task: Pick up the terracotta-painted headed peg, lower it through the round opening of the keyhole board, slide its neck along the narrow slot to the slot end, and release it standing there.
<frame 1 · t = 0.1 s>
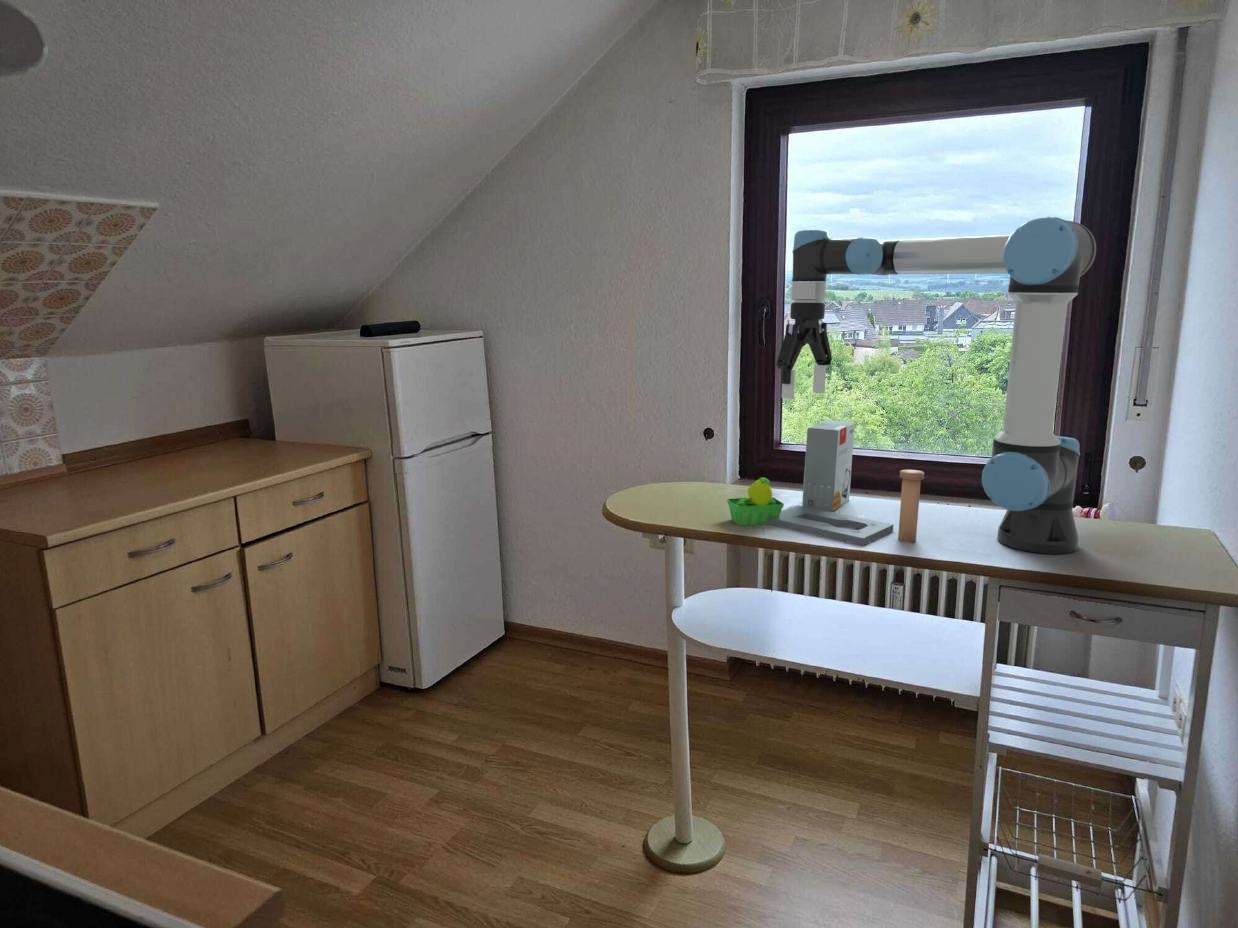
hand: (803, 395, 193), 28 cm above the table, fingers open, 13 cm apart
peg: (906, 539, 178), on the table
hard drive box: (826, 505, 207), on the table
fruit basket: (755, 524, 192), on the table, touching keyhole board
keyhole board: (827, 527, 187), on the table
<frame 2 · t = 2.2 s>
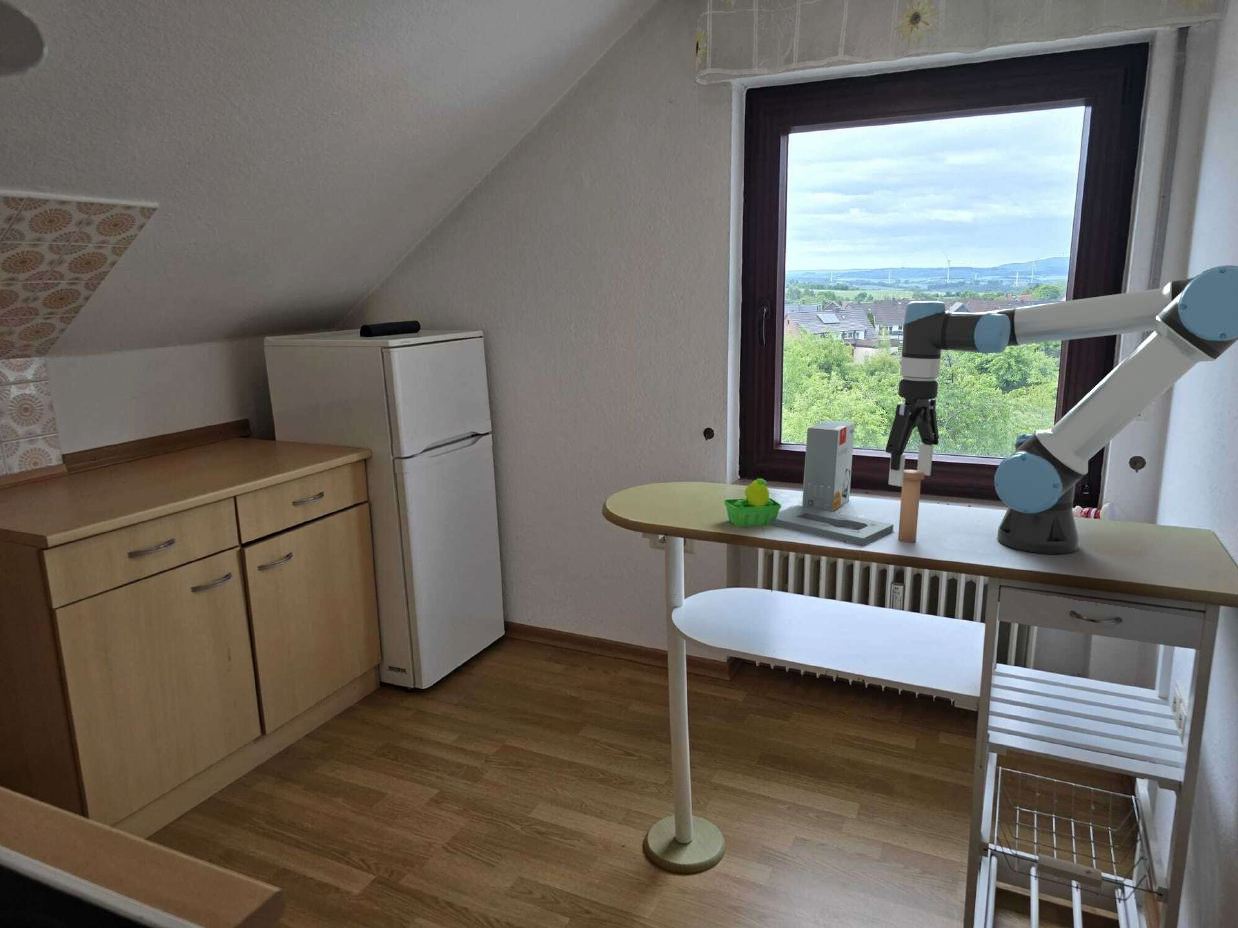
hand: (909, 479, 175), 13 cm above the table, fingers open, 13 cm apart
fruit basket: (752, 525, 191), on the table, touching keyhole board
everything else where it was.
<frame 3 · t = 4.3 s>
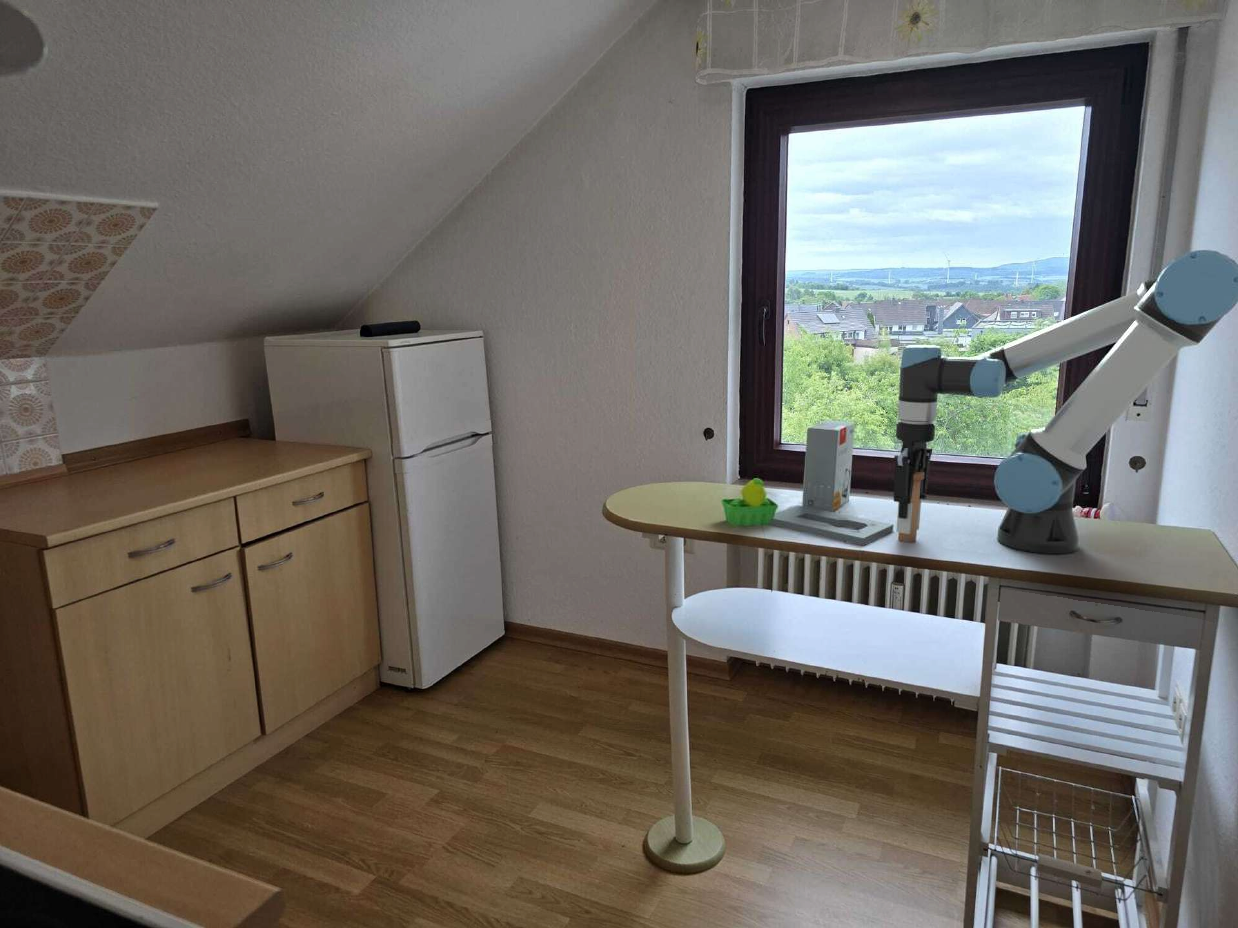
hand: (907, 530, 178), 2 cm above the table, fingers closed on peg, 4 cm apart
peg: (907, 539, 178), on the table, touching gripper
everything else where it was.
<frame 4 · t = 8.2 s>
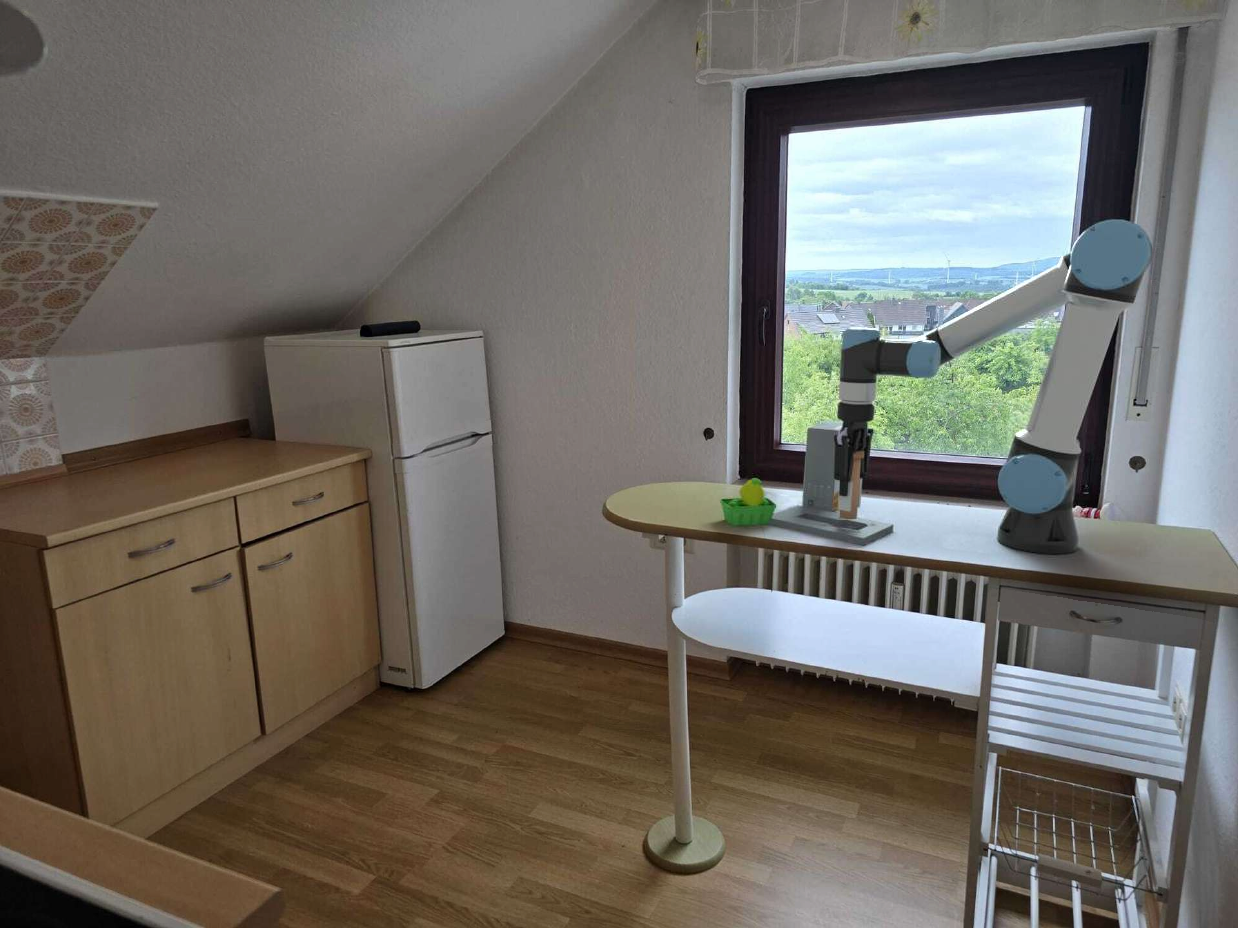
hand: (849, 507, 183), 5 cm above the table, fingers closed on peg, 4 cm apart
peg: (848, 516, 183), point 3 cm above the table, touching gripper
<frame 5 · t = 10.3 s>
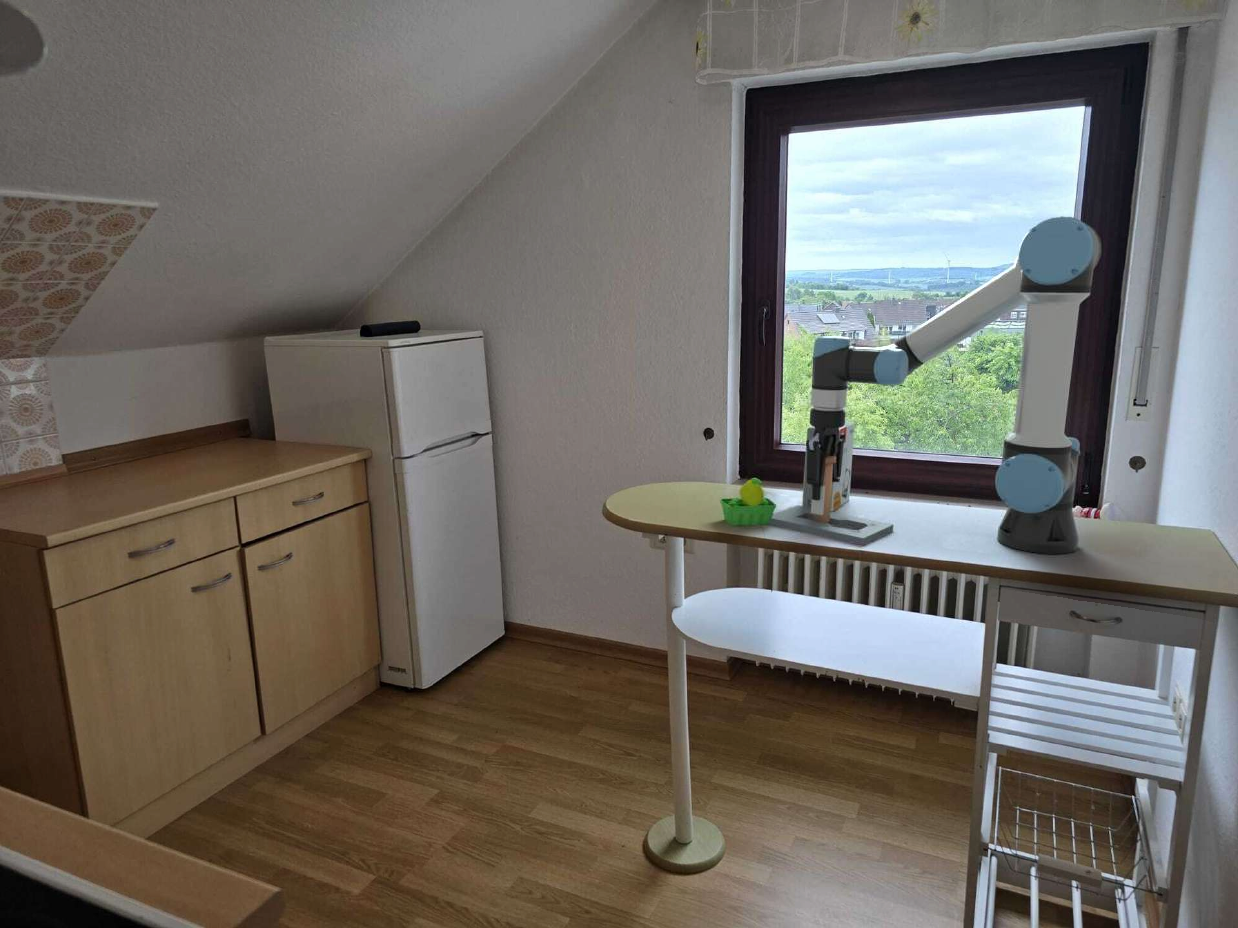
hand: (822, 511, 188), 3 cm above the table, fingers closed on peg, 4 cm apart
peg: (821, 520, 188), point 1 cm above the table, touching gripper
when the fingers open (3 cm above the table, at t = 12.0 s): peg drops 1 cm, resting in keyhole board.
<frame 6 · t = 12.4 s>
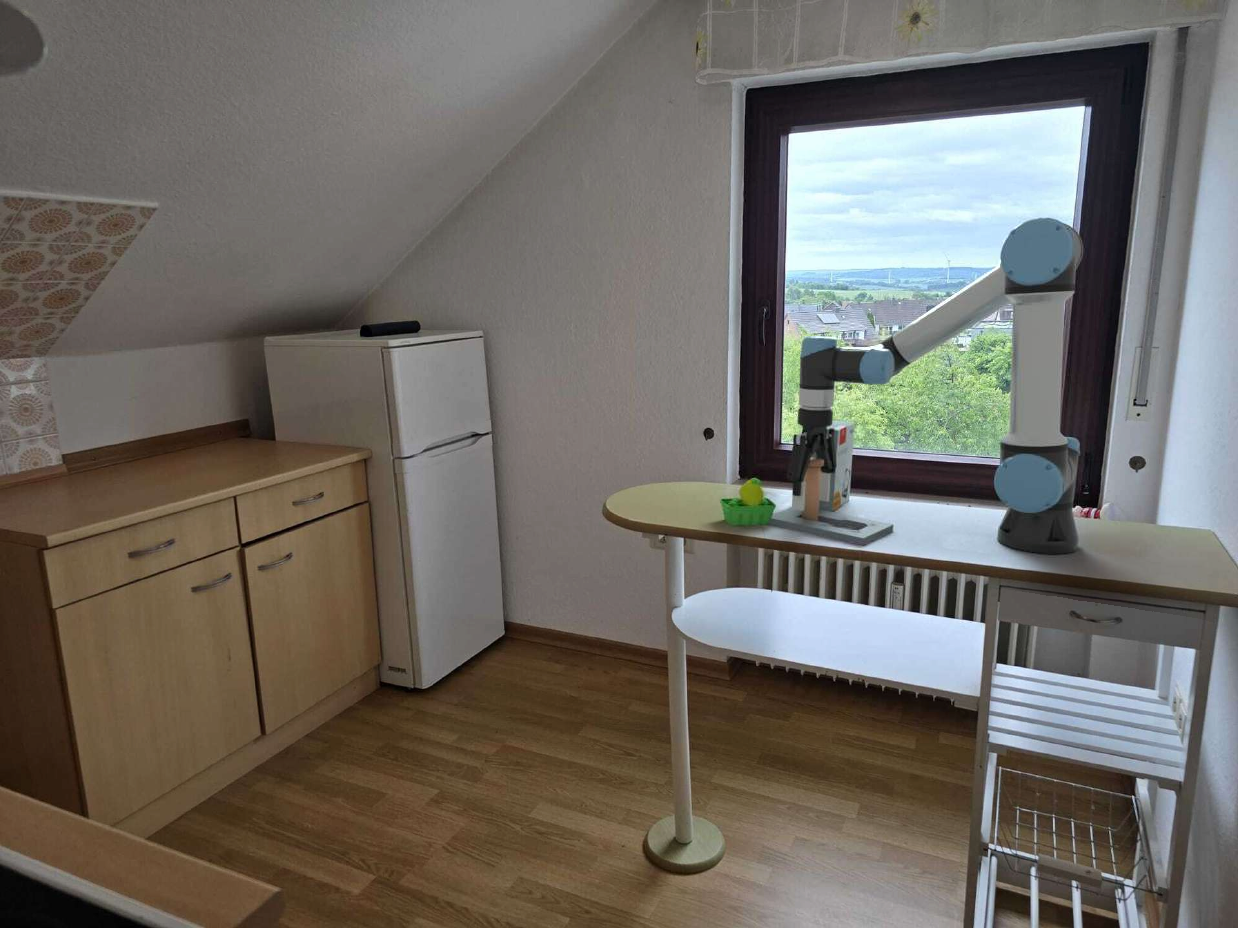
hand: (810, 504, 189), 4 cm above the table, fingers open, 10 cm apart
peg: (809, 523, 190), resting in keyhole board
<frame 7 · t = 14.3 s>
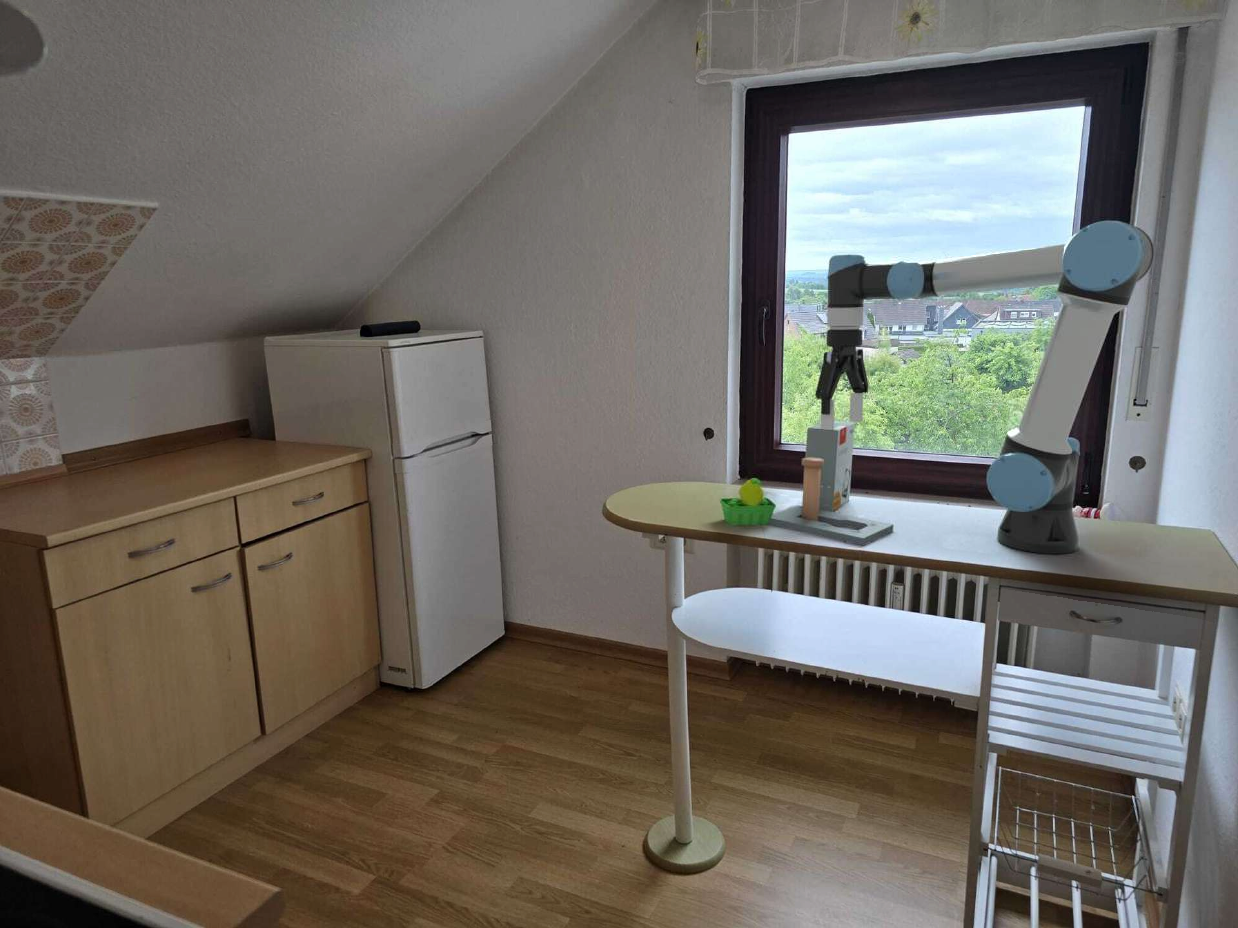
hand: (841, 425, 185), 22 cm above the table, fingers open, 13 cm apart
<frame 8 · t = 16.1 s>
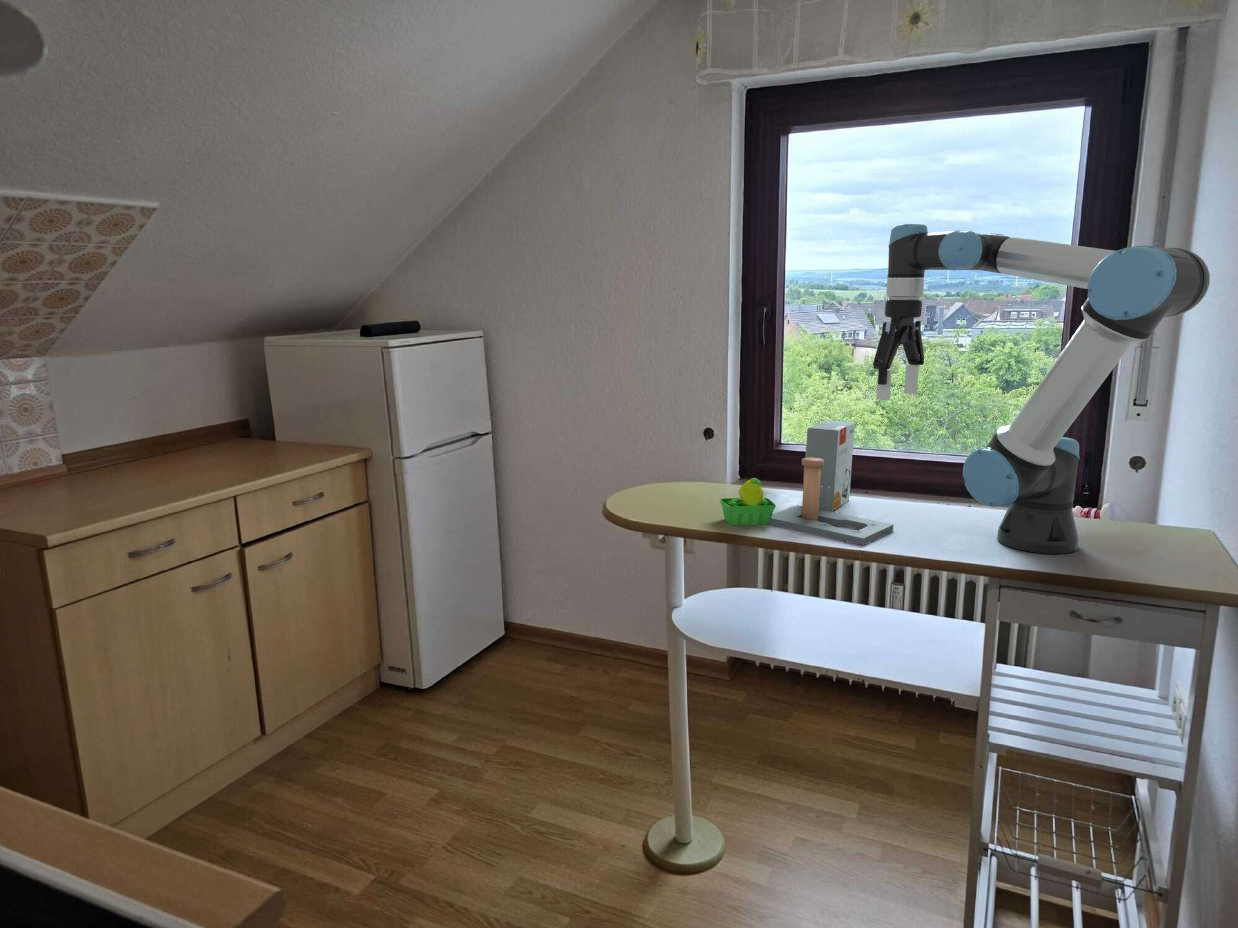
hand: (897, 396, 185), 29 cm above the table, fingers open, 13 cm apart
at the end: peg 0.2 cm from the target spot on the keyhole board, point 0.0 cm above the keyhole board's base; peg tilted 0°; the gripper is holding nothing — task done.
